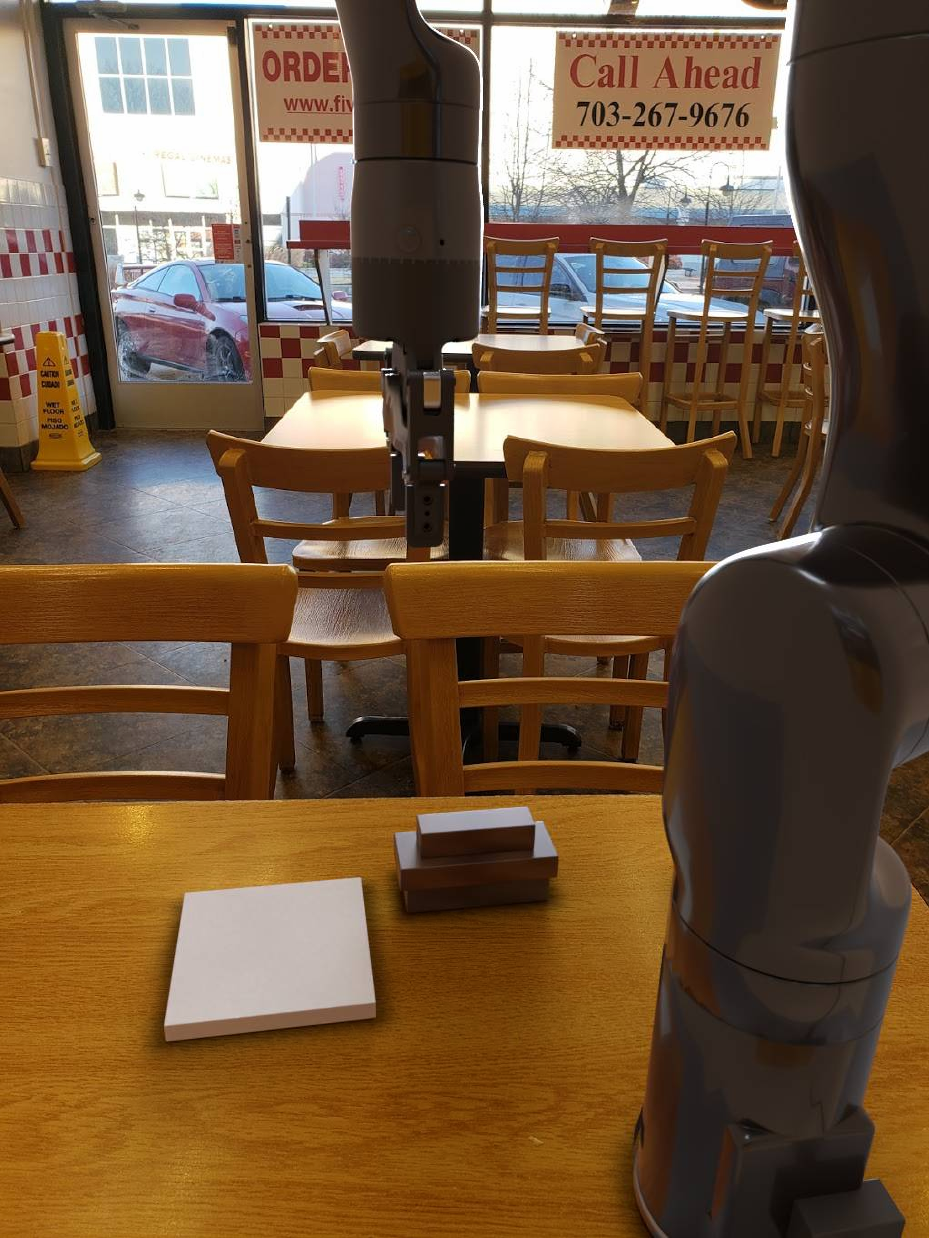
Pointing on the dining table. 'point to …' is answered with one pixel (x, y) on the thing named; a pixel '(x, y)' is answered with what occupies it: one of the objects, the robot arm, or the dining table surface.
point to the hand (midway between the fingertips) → (415, 526)
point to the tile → (270, 959)
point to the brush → (474, 860)
